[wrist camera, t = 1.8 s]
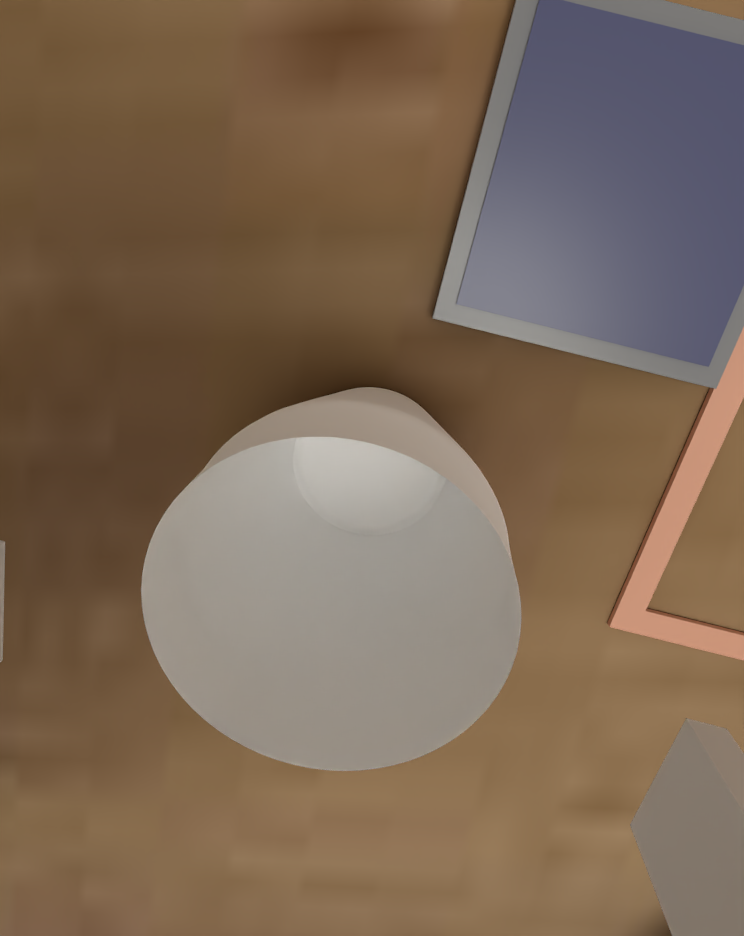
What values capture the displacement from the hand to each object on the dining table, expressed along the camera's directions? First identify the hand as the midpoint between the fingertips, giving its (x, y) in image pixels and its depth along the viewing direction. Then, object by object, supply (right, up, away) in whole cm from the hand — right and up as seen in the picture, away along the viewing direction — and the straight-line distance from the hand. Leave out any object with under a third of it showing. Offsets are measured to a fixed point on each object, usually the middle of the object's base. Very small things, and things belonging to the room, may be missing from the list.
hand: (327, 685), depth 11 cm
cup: (+1, +4, +14) cm, 14 cm away
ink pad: (+10, +14, +9) cm, 19 cm away
